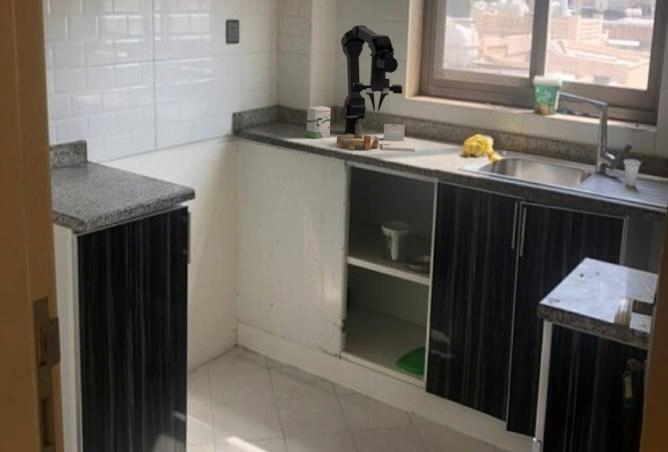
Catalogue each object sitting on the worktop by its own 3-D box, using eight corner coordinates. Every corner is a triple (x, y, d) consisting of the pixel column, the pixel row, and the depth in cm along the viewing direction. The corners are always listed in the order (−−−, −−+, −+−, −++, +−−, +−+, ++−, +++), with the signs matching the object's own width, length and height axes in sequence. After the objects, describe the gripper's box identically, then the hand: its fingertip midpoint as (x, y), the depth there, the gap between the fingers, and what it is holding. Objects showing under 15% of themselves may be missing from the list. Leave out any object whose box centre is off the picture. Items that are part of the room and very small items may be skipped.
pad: (382, 143, 328) (382, 141, 327) (413, 145, 327) (413, 142, 327) (382, 149, 317) (382, 146, 317) (414, 151, 317) (414, 148, 316)
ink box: (314, 139, 332) (315, 109, 329) (305, 137, 336) (306, 107, 332) (330, 136, 338) (331, 107, 334) (321, 134, 341) (322, 105, 338)
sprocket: (337, 140, 330) (338, 122, 328) (378, 142, 329) (379, 124, 327) (335, 148, 314) (336, 130, 312) (378, 150, 314) (379, 132, 312)
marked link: (383, 138, 339) (384, 123, 337) (403, 139, 338) (404, 124, 337) (383, 140, 335) (384, 125, 333) (403, 141, 335) (404, 126, 333)
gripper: (353, 70, 311) (351, 113, 315) (404, 73, 310) (401, 115, 315) (353, 67, 321) (352, 108, 326) (403, 69, 321) (400, 110, 325)
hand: (376, 110), depth 323 cm, fingers closed
